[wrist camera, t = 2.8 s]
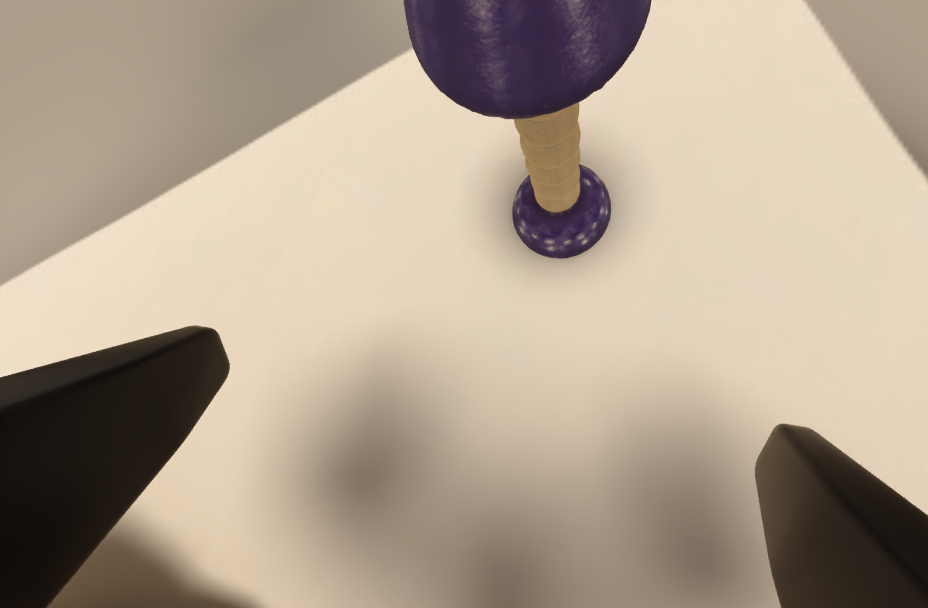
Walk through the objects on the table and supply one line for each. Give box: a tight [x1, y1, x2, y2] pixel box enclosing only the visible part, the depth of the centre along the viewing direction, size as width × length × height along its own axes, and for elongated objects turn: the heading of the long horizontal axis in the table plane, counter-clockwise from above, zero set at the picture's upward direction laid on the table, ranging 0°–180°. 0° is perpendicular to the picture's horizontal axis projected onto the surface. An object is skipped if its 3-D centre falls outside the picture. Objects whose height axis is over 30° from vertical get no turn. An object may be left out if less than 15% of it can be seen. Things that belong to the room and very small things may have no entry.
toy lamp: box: [404, 0, 651, 258], centre depth 14 cm, size 5×5×17 cm
